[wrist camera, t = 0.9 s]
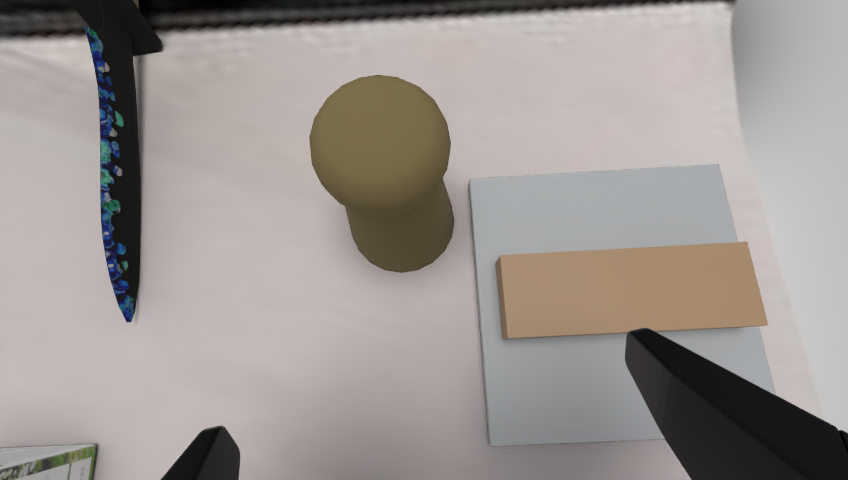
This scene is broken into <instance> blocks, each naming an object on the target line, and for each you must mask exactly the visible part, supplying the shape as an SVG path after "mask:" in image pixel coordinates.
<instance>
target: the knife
mask: <svg viewBox="0 0 848 480" xmlns="http://www.w3.org/2000/svg"><path fill="white" fill-rule="evenodd" d="M68 1H69V3H70V4H71V5H72V6H73V7H74V8H75V10H76V11H77V12H78V13H79V14H80V15H81V16H82V18H83V19H84V20H85V21H86V22H87V23H88V24H89V26H90V27H91V28H92V29H93V30H94V31H93V30H92V29H90V28H88V27H86V26H85V25H84V27H85V31H86V34H87V38H88V41H89V45H90V49H91V54H92V58H93V63H94V67H95V73H96V79H97V84H98V96H99V112H100V197H101V224H102V237H103V243H104V250H105V256H106V261H107V266H108V271H109V276H110V280H111V283H112V286H113V289H114V293H115V296H116V299H117V302H118V305H119V308H120V309H121V311H122V313H123V315H124V317H125V320H126V322H131V321H132V318H133V315H134V312H135V307H136V300H137V292H138V284H139V264H140V163H139V143H138V124H137V104H136V90H135V78H134V67H133V56H132V55H135V54H141V53H148V52H154V51H159V49H160V45H161V40H160V39H159V38H158V36H157V35H156V33H155V32H154V31H153V29H152V28H151V26H150V25H149V24H148V22H147V21H146V19H145V18H144V17H143V15H142V14H141V12H140V11H139V3H138V0H68Z"/></svg>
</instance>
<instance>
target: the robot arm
mask: <svg viewBox="0 0 848 480" xmlns="http://www.w3.org/2000/svg"><path fill="white" fill-rule="evenodd" d="M625 362H626V366H627V368H628V370H629V372H630V374H631V376H632V378H633V380H634V382H635V384H636V385H637V387H638V389H639V391H640V393H641V395H642V397H643V399H644V401H645V403H646V405H647V407H648V409H649V411H650V413H651V415H652V417H653V418H654V420H655V422H656V424H657V426H658V428H659V430H660V431H661V433H662V435H663V436H664V438H665V440H666V441H667V443H668V444H669V446H670V447H671V449H672V450H673V452H674V453H675V455H676V456H677V458H678V460H679V461H680V463H681V464H682V466H683V467H684V469H685V470H686V472H687V473H688V475H689V476H690V478H691V479H692V480H848V433H846V432H844V431H843V430H839V431H838V429H837V428H836V427H835V426H833V425H831V424H829V423H827V422H826V421H824V420H822V419H820V418H818V417H816V416H814V415H812V414H810V413H808V412H807V411H805V410H803V409H801V408H799V407H797V406H795V405H793V404H791V403H790V402H788V401H786V400H784V399H782V398H780V397H778V396H776V395H774V394H772V393H771V392H769V391H767V390H765V389H763V388H761V387H759V386H757V385H755V384H754V383H752V382H750V381H748V380H746V379H744V378H742V377H740V376H738V375H737V374H735V373H733V372H731V371H729V370H727V369H725V368H723V367H721V366H719V365H718V364H716V363H714V362H712V361H710V360H708V359H706V358H704V357H702V356H701V355H699V354H697V353H695V352H693V351H691V350H689V349H687V348H685V347H684V346H682V345H680V344H678V343H676V342H674V341H672V340H670V339H668V338H666V337H665V336H663V335H661V334H659V333H657V332H655V331H653V330H651V329H649V328H640V329H635V330H631V331H629V332H628V333H627V336H626V346H625ZM239 467H240V451H239V448H238V446H237V444H236V443H235V441H234V440H233V438H232V437H231V435H230V434H229V432H228V431H227V429H226V428H225V427H223V426H216V427H212V428H208V429H205V430H203V431H201V432H200V433H199V434H198V436H197V437H196V438H195V439H194V440H193V442H192V443H191V444H190V445H189V446H188V448H187V449H186V450H185V451H184V452H183V454H182V455H181V456H180V457H179V458H178V460H177V461H176V462H175V463H174V464H173V466H172V467H171V468H170V469H169V470H168V472H167V473H166V474H165V475H164V476H163V478H162V479H161V480H238V479H239Z"/></svg>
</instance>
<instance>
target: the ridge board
mask: <svg viewBox="0 0 848 480" xmlns="http://www.w3.org/2000/svg"><path fill="white" fill-rule="evenodd" d="M469 198H470V210H471V223H472V235H473V248H474V260H475V273H476V285H477V298H478V311H479V323H480V336H481V348H482V361H483V373H484V386H485V399H486V411H487V424H488V436H489V443H490V445H491V446H510V445H533V444H556V443H579V442H602V441H625V440H649V439H665V438H664V436H663V435H662V433H661V431H660V430H659V428H658V426H657V424H656V422H655V420H654V418H653V417H652V415H651V413H650V411H649V409H648V407H647V405H646V403H645V401H644V399H643V397H642V395H641V393H640V391H639V389H638V387H637V385H636V384H635V382H634V380H633V378H632V376H631V374H630V372H629V370H628V368H627V366H626V362H625V346H626V336H627V333H628V332H629V331H631V330H635V329H640V328H649V329H651V330H653V331H655V332H657V333H659V334H661V335H663V336H665V337H666V338H668V339H670V340H672V341H674V342H676V343H678V344H680V345H682V346H684V347H685V348H687V349H689V350H691V351H693V352H695V353H697V354H699V355H701V356H702V357H704V358H706V359H708V360H710V361H712V362H714V363H716V364H718V365H719V366H721V367H723V368H725V369H727V370H729V371H731V372H733V373H735V374H737V375H738V376H740V377H742V378H744V379H746V380H748V381H750V382H752V383H754V384H755V385H757V386H759V387H761V388H763V389H765V390H767V391H769V392H771V393H772V394H774V395H776V393H775V389H774V385H773V381H772V377H771V373H770V369H769V365H768V361H767V357H766V353H765V349H764V344H763V340H762V336H761V332H760V328H759V326H765V325H768V323H767V319H766V315H765V311H764V307H763V303H762V299H761V295H760V291H759V287H758V283H757V279H756V275H755V271H754V267H753V263H752V259H751V256H750V252H749V248H748V244H747V242H738V239H737V235H736V231H735V227H734V223H733V219H732V215H731V211H730V207H729V203H728V199H727V195H726V191H725V187H724V183H723V179H722V175H721V171H720V167H719V164H712V165H694V166H677V167H660V168H643V169H626V170H609V171H592V172H575V173H558V174H541V175H524V176H507V177H490V178H473V179H469Z"/></svg>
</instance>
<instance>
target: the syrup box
mask: <svg viewBox="0 0 848 480" xmlns="http://www.w3.org/2000/svg"><path fill="white" fill-rule="evenodd" d="M95 449H96V446H95V445H94V444H84V445H63V446H40V447H18V448H0V480H91V479H92V472H93V465H94V460H95Z"/></svg>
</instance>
